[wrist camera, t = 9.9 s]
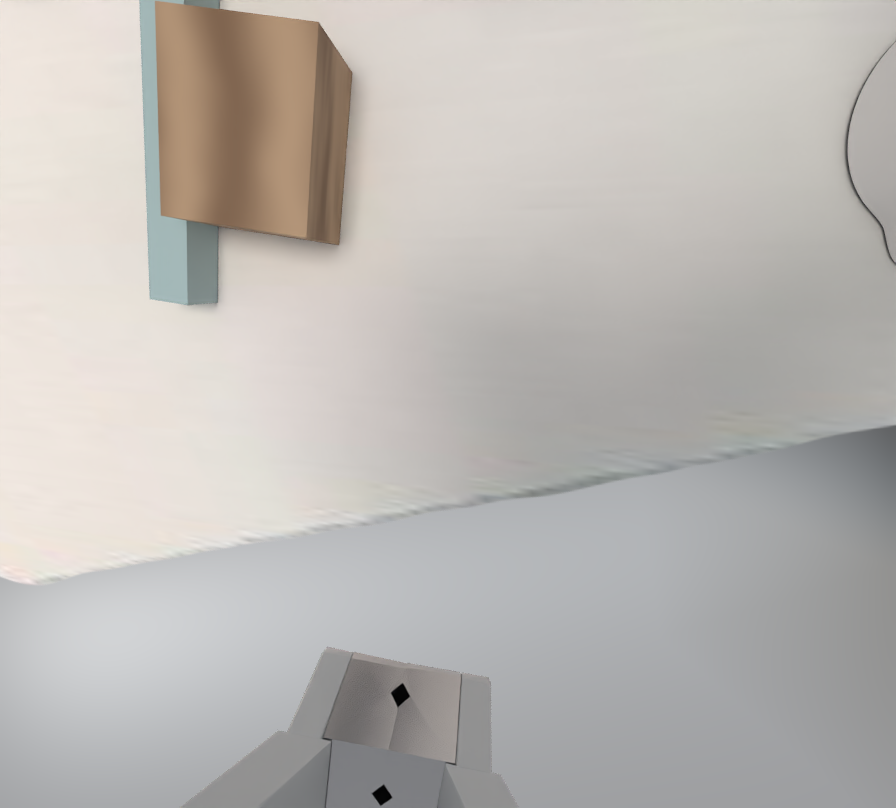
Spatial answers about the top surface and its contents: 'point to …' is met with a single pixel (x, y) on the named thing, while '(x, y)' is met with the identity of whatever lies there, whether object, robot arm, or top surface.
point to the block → (251, 122)
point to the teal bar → (169, 239)
